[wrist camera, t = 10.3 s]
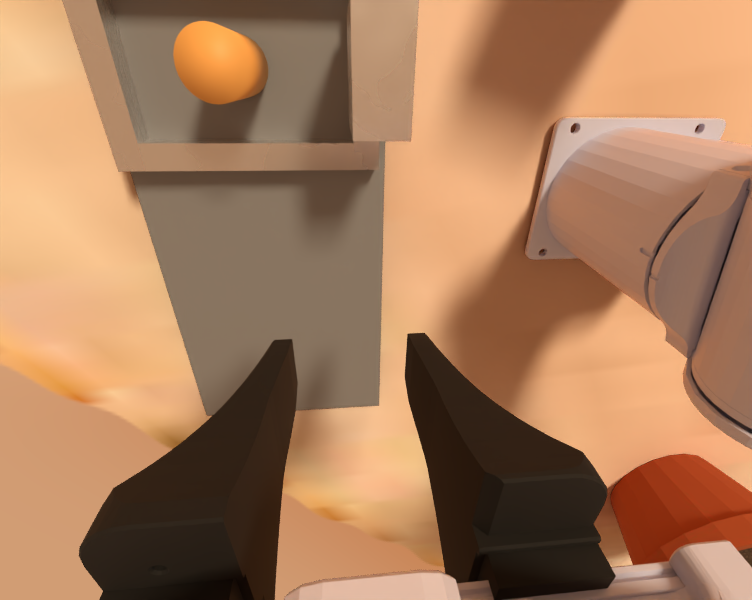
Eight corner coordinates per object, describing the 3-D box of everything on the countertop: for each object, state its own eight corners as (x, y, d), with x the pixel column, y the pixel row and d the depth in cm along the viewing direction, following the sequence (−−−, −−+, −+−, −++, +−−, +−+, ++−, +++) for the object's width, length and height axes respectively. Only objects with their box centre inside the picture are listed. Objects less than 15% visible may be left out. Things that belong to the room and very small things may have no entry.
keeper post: (264, 34, 16) (241, 21, 12) (271, 97, 17) (253, 104, 13) (206, 32, 16) (164, 19, 12) (217, 97, 17) (183, 104, 13)
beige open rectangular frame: (394, -42, 15) (424, -104, 10) (388, 164, 19) (407, 198, 14) (62, -55, 14) (-103, -133, 9) (130, 166, 18) (46, 203, 13)
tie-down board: (387, -91, 15) (390, -101, 14) (377, 395, 29) (379, 405, 28) (57, -108, 14) (39, -120, 13) (210, 405, 28) (206, 415, 27)
